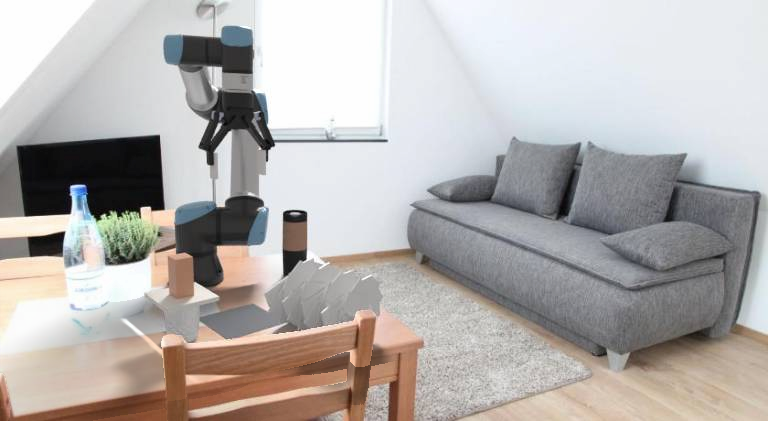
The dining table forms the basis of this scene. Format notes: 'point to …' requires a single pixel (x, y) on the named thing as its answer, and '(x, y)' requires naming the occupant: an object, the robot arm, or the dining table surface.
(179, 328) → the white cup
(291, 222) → the travel mug
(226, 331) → the mat
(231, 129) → the robot arm
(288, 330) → the dining table surface
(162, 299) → the lid
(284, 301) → the spiral staircase
